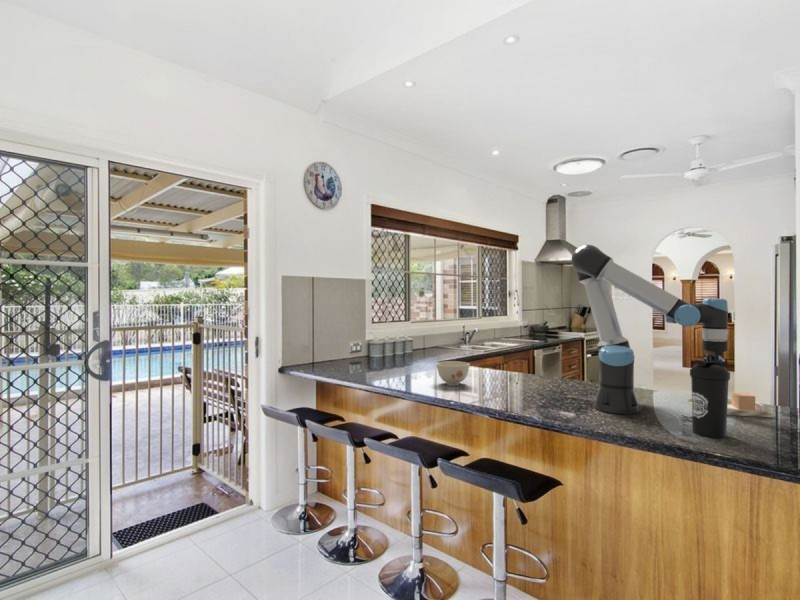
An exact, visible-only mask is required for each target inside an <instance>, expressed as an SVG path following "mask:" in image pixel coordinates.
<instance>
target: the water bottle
mask: <svg viewBox="0 0 800 600" xmlns="http://www.w3.org/2000/svg"><path fill="white" fill-rule="evenodd" d="M694 363H695V364H694V365H693V366H691V368H690V369H689V376H690V379H691V380H690V381H691V382H690V383H691V398H692V405H691V417H692V419H691V420H692V421H691V422H692V423H691V425H692V426H691V427H692V432H693V434H695V435H698V436H701V437H703V438H711V439H725V438H726V437H727V421H728V415H727V404H728V399H729V381H730V379H731V373H730V371H729V370H728V369H727V368H725V367H726V363H725V362H723V361H719V360H712V361H711V362H708V361H703V360H702V359H701V360H700V359H694Z"/></svg>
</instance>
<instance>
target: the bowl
mask: <svg viewBox="0 0 800 600" xmlns="http://www.w3.org/2000/svg"><path fill="white" fill-rule="evenodd" d="M436 368H437V373H438V376H439V377H440V378H441V381H444V382H445V384H446V385H447V386H452V387H455V386H460V384H461V382H463V381H464V380H465V379H466V378H467V376H468V373H469V369H470V362H465V361H459V360H458V361H457V360H445V361H439V362H436Z"/></svg>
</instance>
